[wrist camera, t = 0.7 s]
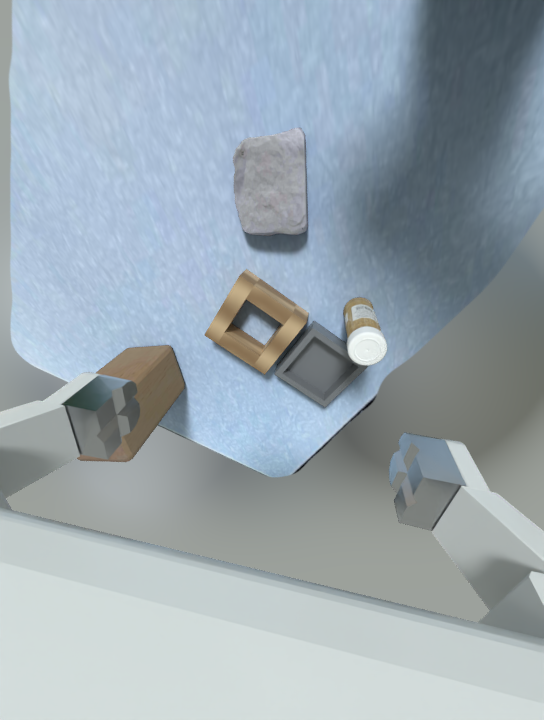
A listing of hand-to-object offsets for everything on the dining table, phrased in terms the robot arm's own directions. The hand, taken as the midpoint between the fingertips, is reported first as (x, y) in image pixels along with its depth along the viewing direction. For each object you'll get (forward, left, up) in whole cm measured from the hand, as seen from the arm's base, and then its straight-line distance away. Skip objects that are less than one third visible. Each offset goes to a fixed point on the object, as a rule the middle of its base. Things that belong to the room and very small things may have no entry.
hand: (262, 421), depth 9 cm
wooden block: (+37, -11, -39) cm, 55 cm away
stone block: (-2, -9, -40) cm, 41 cm away
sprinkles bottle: (+5, +12, -39) cm, 41 cm away
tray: (+16, +13, -39) cm, 44 cm away
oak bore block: (+16, 0, -39) cm, 42 cm away
